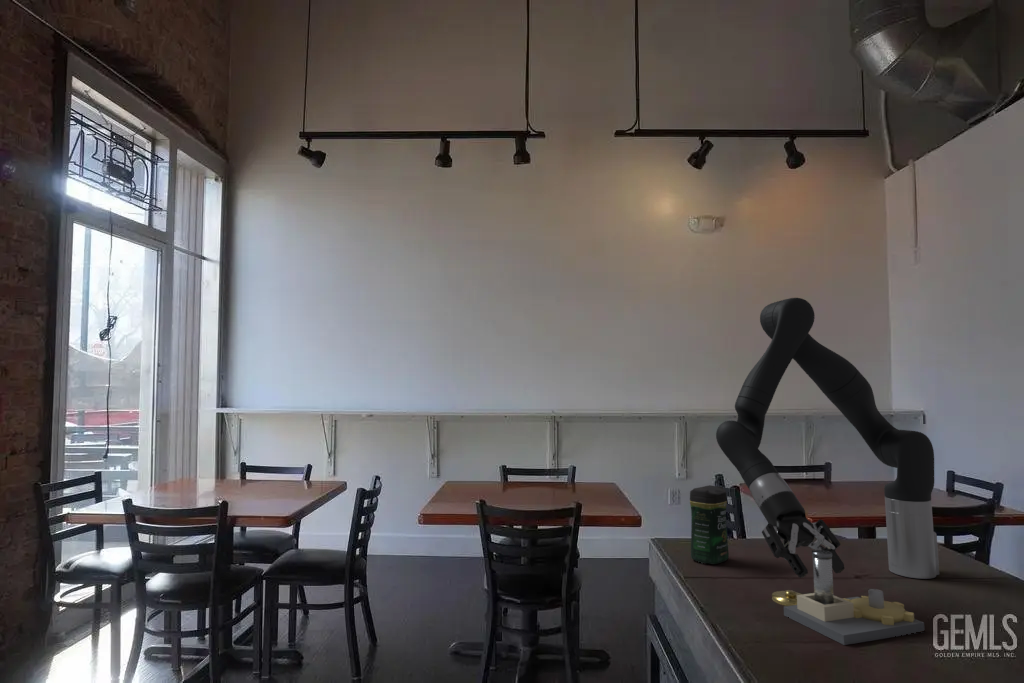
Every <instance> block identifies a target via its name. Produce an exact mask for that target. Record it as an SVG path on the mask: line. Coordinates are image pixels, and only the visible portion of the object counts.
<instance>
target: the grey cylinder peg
mask: <svg viewBox="0 0 1024 683" xmlns="http://www.w3.org/2000/svg"><path fill="white" fill-rule="evenodd" d="M811 556H812V569H813V570H812V573H813V593H814V598H815V601H817V602H819V603H821V604H824V605H826V604H833V603H834V596H835V595H834V577H833V576H834V575H833V569H832V553H831V552H829V551H825V550H814V549H811Z"/></svg>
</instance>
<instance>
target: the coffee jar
mask: <svg viewBox="0 0 1024 683" xmlns="http://www.w3.org/2000/svg"><path fill="white" fill-rule="evenodd" d="M727 499H728V496H727V491H726V489H724V487H722V486H716V485H705V486H700V487H694V488H693V489H692V490H690V491H689V504H690V513H691V535H690V536H691V537H690V558H691V560H694V561H696V562H697V561H698V563H699V562H701V563H700V564H703V563H705V564H712V565H717V564H720V563H724V562H726V561H727V560H728V559H729V555H730V554H729V540H728V531H727V529H728V528H727V504H728V502H727V501H728V500H727Z"/></svg>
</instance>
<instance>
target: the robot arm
mask: <svg viewBox="0 0 1024 683" xmlns="http://www.w3.org/2000/svg"><path fill="white" fill-rule="evenodd" d="M815 318H816V317H815V310H814V308H813V306H812V305H811V303H810V302H809V301H808V300H806V299H805V298H804V299H803V298H801V297H789V298H786V299H782V300H781V299H780V300H777V301H774V302H771V303H770V304H767V305H765V306H764V307H763V309H761V312H760V315H759V323H760V326H761V328H762V330H763V331H764V333H765V334H766V335H767V336H768V337H769V338H770V339H771V341H770V343H769V345H768V347H767V348H766V350H765V352H764V353H763V354H762V356H761V357H760V358H759V360H758V361H757V362H756V363H755V365H754V366H753V367H752V369H751V370H750V371H749V373H748V375H747V376H746V378H745V380H744V381H743V384H742V387H741V388H740V391H739V393H738V395H737V398H736V401H735V403H734V409H735V411H736V413H737V420H725V421H723V422H722V423H720V424H719V425H718V427H717V428H716V432H715V439H716V442H717V444H718V446H719V448H720V449H721V451H722V452H723V454H724V455H725V456H726V457H727V459H728V461H730V463H731V464H732V465H733V466H734V467H735V469H736V470H737V471H738V473H739V475H740V476H741V478H742V480H743V482H744V484H745V486H747V488H748V490H749V492H750V494H751V496H752V498H753V500H754V502H755V504H756V506H757V507H758V509H759V510H760V512H761V514H762V515H763V517H764V518H765V520H766V522H767V525H765V527H764V528H763V529H762V531H761V534H762V536H763V538H764V539H765V541H766V543H767V545H768V547H769V549H770V551H771V553H772V554H773V556H774V557H775V559H779V558H782V559H784V560H785V561H786V562H788V564H789V566H790V567H791V569H792V571H793V572H794V574H795V575H797V576H798V578H800V579H801V578H805V577H806V576H807V575H808V573H809V570H808V569H807V567H806V565H805V564H804V562H803V561H802V559H801V557H800V556H799V554H798V553H796V548H800V547H809V548H810V549H811V550H825V551H829V552H831V553H832V571H834V573H835V574H840V573H842V572H843V571H844V570H845V563H844V561H843V560H842V559H841V558H840V556H839V555H838V554H837V552H836V550H837V549H838V548H839V547H840V546H841V542H840V541H839V540H838V538H837V537H836V535H835V534H834V533H833V532H832V530H831V529H830V528H829V526H828V525H827V523H826V522H825V521H824V520H823V519H820V518H819V519H818V520H817V521H816V522H811V521H810V520H809V519H808V518H807V516H806V510H805V508H804V507H803V505H802V503H801V502H800V500H799V499H798V498H797V496H796V495H795V493H794V491H793V490H792V489H791V487H790V486H789V485H788V484H789V483H787V482H786V480H784V478H783V477H782V476H781V475H780V474H779V471H778V470H777V469H776V468H775V465H774V464H773V463H772V462H771V460H770V459H769V458H768V457H767V456H766V455H765V454H764V453H763V452H762V451H761V450H760V449H759V447H760V445H761V443H762V439H763V434H764V433H763V432H764V428H765V419H766V415H767V413H768V410H769V409H770V408H769V407H770V406H771V403H772V401H773V398H774V395H775V393H776V391H777V390H778V389H777V388H778V386H779V385H780V382H781V380H782V379H783V377H784V374H785V372H786V370H787V369H788V367H789V365H790V364H791V362H792V361H793V360H794V361H795V362H796V364H798V366H799V367H800V368H801V369H802V370H803V371H804V373H805V374H806V375H807V376H808V377H809V378H810V379H811V380H812V381H813V383H815V385H816V386H817V387H818V388H819V389H820V391H821V392H822V394H824V395H825V396H826V398H827V399H828V401H830V402H831V403H832V405H833V406H834V407H836V408H837V410H839V411H840V413H842V415H843V416H844V417H845V418H846V420H848V422H849V423H850V424H851V425H852V426H853V427H854V429H856V431H857V432H858V434H859V435H860V436H861V437H862V439H863V440H864V442H865V443H866V444H867V446H868V447H869V449H870V450H871V452H872V453H873V454H874V456H875V457H876V459H878V460H879V462H881V463H882V464H884V465H886V466H889V467H891V468H896V477H895V478H896V479H894V481H892V482H889V483H887V484H884V488H883V489H884V490H883V491H884V504H885V505H884V507H885V508H884V509H885V521H886V522H885V523H886V524H885V525H886V539H887V540H886V541H887V542H886V543H887V557H888V558H887V559H888V570H889V571H890V572H891V573H892V574H895V575H898V576H902V577H906V578H912V579H923V580H924V579H925V580H927V579H934V578H936V577H937V576H939V575H940V565H939V564H940V563H939V548H938V537H937V533H936V531H934V519H933V506H932V505H933V502H932V493H933V489H934V488H935V450H934V447H933V443H932V441H931V439H930V438H929V437H928V436H927V435H926V434H925V433H923V432H921V431H916V430H911V429H910V430H909V429H898V428H896V427H894V425H892V424H891V423H890V422H889V421H888V420H887V419H886V418H885V417H884V416H883V414H881V412H880V411H879V409H878V407H877V405H876V400H875V395H874V392H873V391H874V390H873V388H872V385H871V384H870V382H869V381H868V380H867V379H866V377H865V376H864V375H863V374H862V373H861V372H860V371H859V369H857V367H856V366H855V365H853V363H851V361H849V360H848V359H846V358H845V357H843V356H842V355H840V354H838V352H835V351H833V350H831V349H830V348H828V347H826V346H825V345H823V344H821V343H820V342H818V341H817V340H816V339H815V338H814V337H813V336H812V335H811V334H810V331H811V329H812V328H813V326H814V322H815ZM781 539H782V540H781ZM814 539H816V540H814ZM830 541H831V542H830Z"/></svg>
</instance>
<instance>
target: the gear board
mask: <svg viewBox="0 0 1024 683" xmlns="http://www.w3.org/2000/svg"><path fill="white" fill-rule="evenodd" d="M867 591H868V592H867V593H868V595H861V596H860V597H859V596H852V597H851V596H850V597H844V598H842V597H839V596H837V595H834V603H833V604H826V605H824V604H821V603H819V602H817V601H815V598H814V592H812V593H811V592H810V593H801V594H802V595H797V605H792V606H783V616H784V617H786V618H788V617H789V619H790V620H793V621H794V622H797V623H799V624H801V625H803V626H804V627H807V628H809V629H811V630H813V631H814V632H816V633H818V634H821V635H823V636H825V637H826V638H830V639H831V640H833V641H835V642H837V643H839V644H840V645H843V646H846V645H853V644H858V643H860V644H861V643H865V642H866V643H867V642H871V641H878V640H884V639H889V638H895V636H896V637H901V635H902V636H906V634H908V635H912V634H911V633H914V634H917V633H916V632H920V631H924V630H925V622H923V621H921V620H918V619H916V618H915V613H914V612H910V611H907V610H906V609H905V604H904V603H902V602H899V601H887V600H885V599H884V597H885V596H884V591H883V590H881V589H877V588H869V589H867Z"/></svg>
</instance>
